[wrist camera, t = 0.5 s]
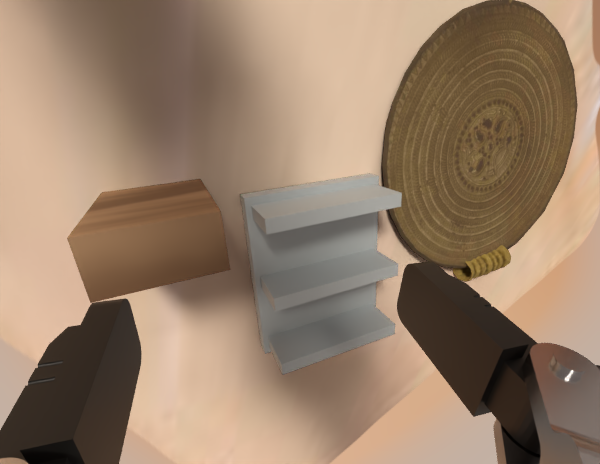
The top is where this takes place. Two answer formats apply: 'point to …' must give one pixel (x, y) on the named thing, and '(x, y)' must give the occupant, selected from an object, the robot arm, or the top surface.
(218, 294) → the top surface
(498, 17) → the decorative disc
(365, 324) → the rack
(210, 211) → the brown rectangular block
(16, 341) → the top surface
